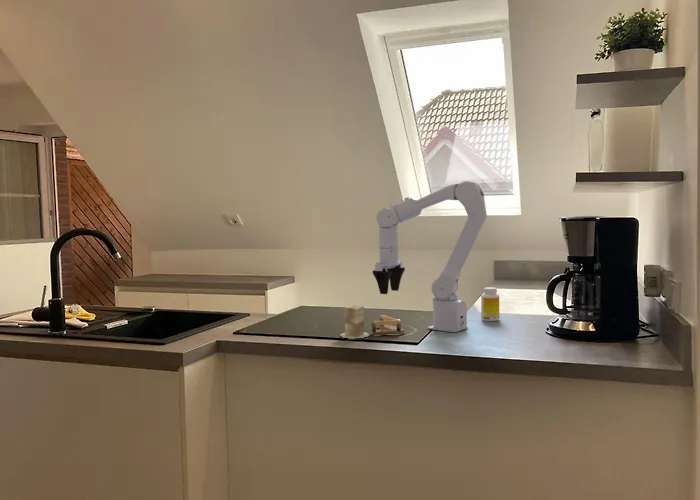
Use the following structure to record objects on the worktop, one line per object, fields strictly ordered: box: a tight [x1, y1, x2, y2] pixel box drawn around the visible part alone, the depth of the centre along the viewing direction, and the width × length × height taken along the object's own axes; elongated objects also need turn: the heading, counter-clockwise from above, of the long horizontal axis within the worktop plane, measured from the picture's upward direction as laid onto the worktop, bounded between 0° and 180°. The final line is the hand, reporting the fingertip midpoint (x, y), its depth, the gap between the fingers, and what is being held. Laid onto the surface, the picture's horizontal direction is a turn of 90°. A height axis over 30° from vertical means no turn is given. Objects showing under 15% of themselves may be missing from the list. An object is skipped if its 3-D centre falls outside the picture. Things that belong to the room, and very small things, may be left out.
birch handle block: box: [344, 305, 365, 337], centre depth 166 cm, size 4×4×8 cm
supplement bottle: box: [480, 286, 500, 322], centre depth 185 cm, size 6×6×10 cm
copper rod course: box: [370, 314, 405, 336], centre depth 170 cm, size 12×12×4 cm
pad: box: [339, 331, 370, 340], centre depth 166 cm, size 8×8×1 cm
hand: (389, 292), depth 179 cm, fingers open, 7 cm apart
